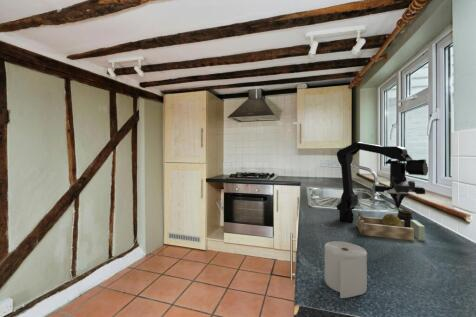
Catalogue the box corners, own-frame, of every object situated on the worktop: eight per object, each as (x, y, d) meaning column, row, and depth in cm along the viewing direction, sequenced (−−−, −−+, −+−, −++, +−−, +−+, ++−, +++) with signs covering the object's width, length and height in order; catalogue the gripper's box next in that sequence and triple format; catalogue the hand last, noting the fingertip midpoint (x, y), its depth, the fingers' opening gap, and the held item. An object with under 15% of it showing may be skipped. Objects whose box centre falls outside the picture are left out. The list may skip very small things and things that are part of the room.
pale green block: (418, 240, 93) (418, 226, 93) (410, 232, 103) (410, 219, 103) (425, 240, 93) (426, 226, 93) (416, 233, 102) (416, 220, 102)
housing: (361, 234, 100) (361, 217, 100) (357, 225, 112) (357, 210, 112) (413, 240, 93) (413, 221, 93) (403, 230, 105) (403, 214, 105)
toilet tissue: (352, 273, 67) (353, 240, 67) (379, 299, 55) (379, 259, 55) (318, 274, 67) (318, 241, 66) (337, 300, 55) (337, 260, 54)
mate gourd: (418, 229, 107) (417, 208, 107) (402, 229, 108) (402, 209, 107) (406, 224, 115) (406, 205, 114) (392, 224, 115) (392, 205, 115)
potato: (379, 234, 99) (379, 217, 99) (383, 227, 109) (383, 211, 109) (402, 239, 94) (402, 220, 94) (404, 231, 104) (404, 214, 104)
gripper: (377, 174, 96) (377, 210, 96) (431, 176, 89) (430, 214, 89) (372, 172, 107) (372, 204, 107) (420, 174, 100) (419, 208, 100)
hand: (397, 207), depth 100 cm, fingers closed
